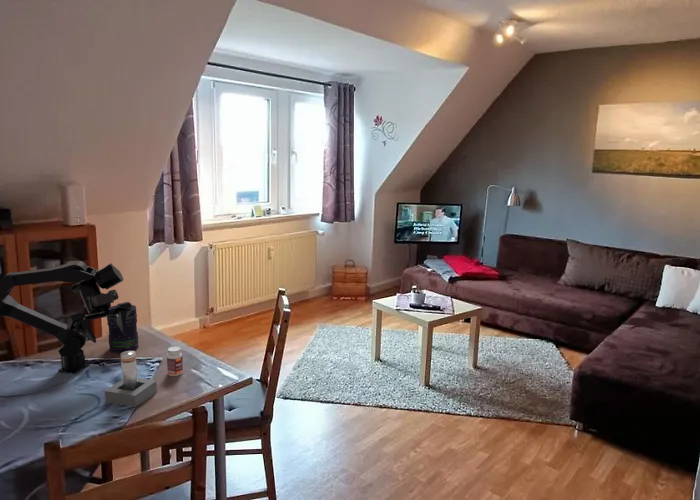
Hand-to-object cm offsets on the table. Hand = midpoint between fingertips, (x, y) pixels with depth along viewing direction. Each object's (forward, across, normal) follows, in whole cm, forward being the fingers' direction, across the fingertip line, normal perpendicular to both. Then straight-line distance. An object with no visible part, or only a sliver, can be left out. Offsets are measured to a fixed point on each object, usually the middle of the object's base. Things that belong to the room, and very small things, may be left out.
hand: (110, 338), depth 164 cm
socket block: (+20, -2, -1) cm, 20 cm away
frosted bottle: (+20, -2, -1) cm, 20 cm away
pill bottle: (+17, +16, +3) cm, 23 cm away
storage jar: (-6, +14, +25) cm, 30 cm away
